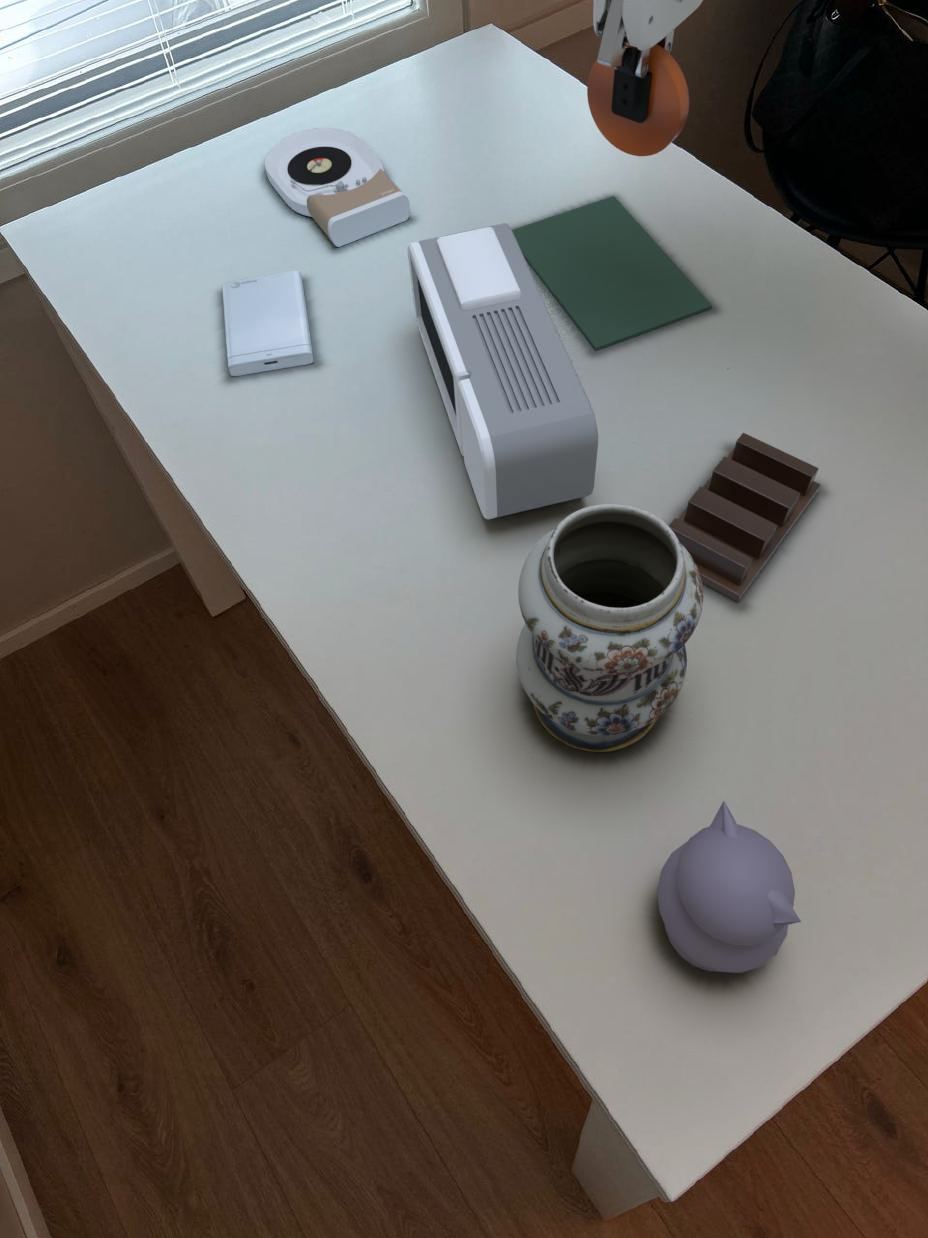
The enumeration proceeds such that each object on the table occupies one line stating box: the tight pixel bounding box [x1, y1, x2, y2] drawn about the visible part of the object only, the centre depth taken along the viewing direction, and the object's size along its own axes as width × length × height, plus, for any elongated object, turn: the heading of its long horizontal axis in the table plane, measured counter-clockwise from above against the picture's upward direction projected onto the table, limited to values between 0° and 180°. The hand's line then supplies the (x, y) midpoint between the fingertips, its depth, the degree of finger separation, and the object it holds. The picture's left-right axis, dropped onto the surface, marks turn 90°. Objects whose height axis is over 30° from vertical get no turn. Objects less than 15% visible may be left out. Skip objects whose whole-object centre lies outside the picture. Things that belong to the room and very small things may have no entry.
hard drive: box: [221, 270, 314, 377], centre depth 97 cm, size 2×8×12 cm
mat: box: [511, 195, 713, 351], centre depth 99 cm, size 20×13×1 cm, turn 24°
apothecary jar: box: [515, 503, 704, 753], centre depth 66 cm, size 12×12×18 cm
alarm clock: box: [407, 222, 599, 520], centre depth 85 cm, size 27×9×12 cm, turn 14°
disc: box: [586, 42, 690, 157], centre depth 81 cm, size 2×9×9 cm, turn 53°
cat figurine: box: [657, 800, 802, 974], centre depth 59 cm, size 8×8×12 cm
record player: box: [264, 127, 411, 248], centre depth 108 cm, size 12×3×20 cm
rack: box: [668, 432, 821, 603], centre depth 80 cm, size 14×8×4 cm, turn 143°
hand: (636, 108), depth 81 cm, fingers closed on disc, 1 cm apart
